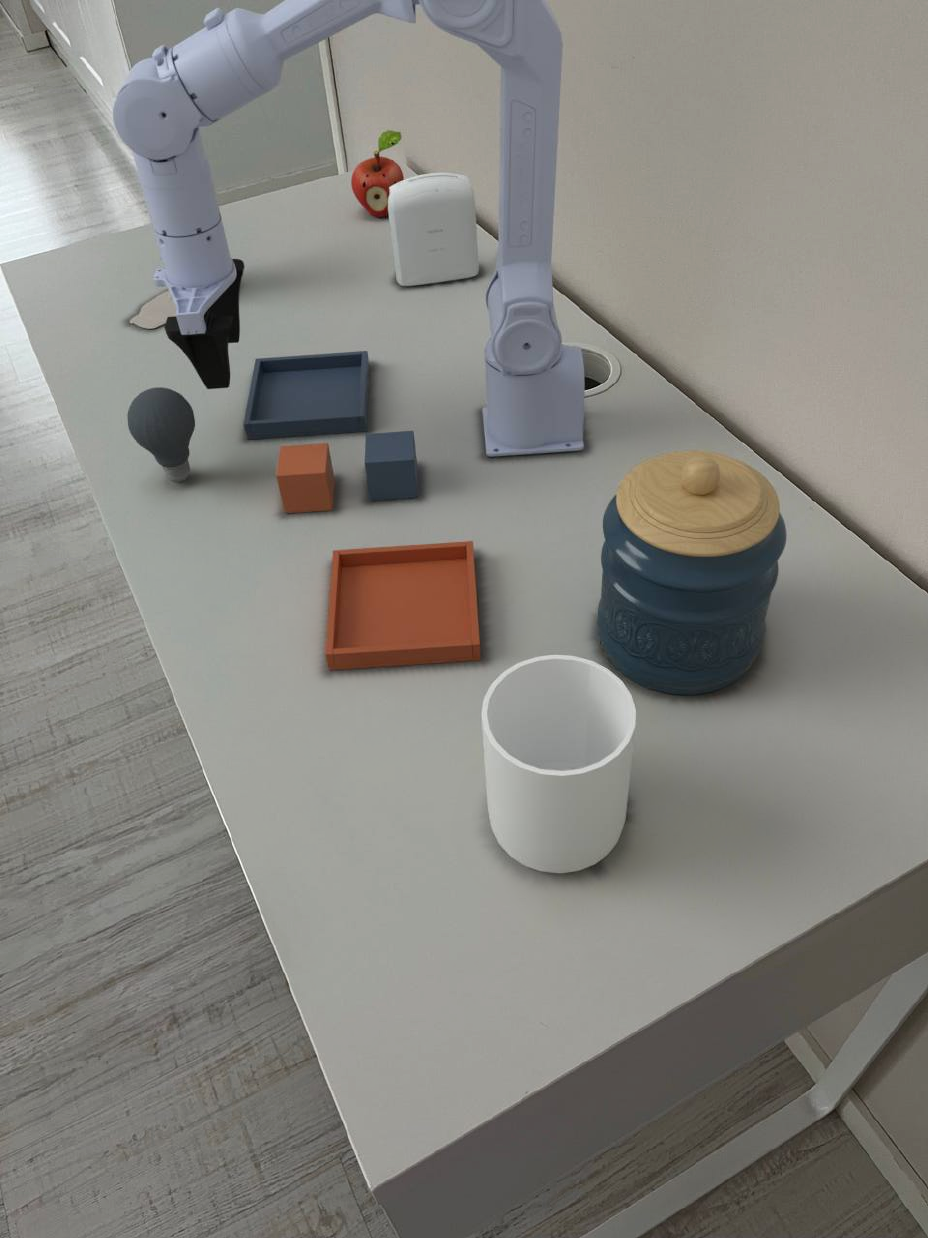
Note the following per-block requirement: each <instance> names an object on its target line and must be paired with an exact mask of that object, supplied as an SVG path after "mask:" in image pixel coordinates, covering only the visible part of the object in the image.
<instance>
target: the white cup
mask: <svg viewBox="0 0 928 1238" xmlns="http://www.w3.org/2000/svg"><path fill="white" fill-rule="evenodd" d="M480 716H481V733H482V744H483V745H482V746H483V758H484V759H483V761H484V774H485V787H486V801H487V802H486V805H487V812H488V817H489V823H490V827H491V831H492V833H493V835H494V836H495V839H496V841H497V843H498V845H499V846H500V847H501V848H502V849H503V850H504V852H506V854H508V856H509V857H511V858H512V859H514V860H515V861H517V862H518V863H519V864H521V865H523V866H524V867H528V868H530V869H533V870H536V871H539V872H542V873H543V872H544V873H551V874H565V873H573V872H579V871H581V870H584V869H586V868H589V867H591V866H594V865H596V864H597V863H599V862H600V861H601V860H603V859H604V858H605V857H607V856H608V855H609V854H610V853H611V851H612V850H613V849H614V847H616V845H617V844H618V842H619V840H620V837H621V834H622V832H623V829H624V826H625V824H626V823H625V822H626V818H627V811H628V810H627V808H628V800H629V790H630V781H631V771H632V761H633V752H634V742H635V733H636V732H635V731H636V721H637V719H636V718H637V709H636V705H635V703H634V699H633V696H632V693H631V692H630V690H629V689H628V688H627V686H626V685H625V683H624V681H623V680H622V679H620V678H619V677H618V676H617V675H615V673H613V672H612V671H611V670H610V669H608V668H606V667H604V666H603V665H601V664H599V663H597V662H595V661H593V660H591V659H588V658H587V659H586V658H582V657H579V656H575V655H566V654H549V655H541V656H534V657H531V658H528V659H526V660H522V661H520V662H517V663H515V664H514V665H513V666H511V667H509V668H507V669H506V670H504V671H503V672H502V673H501V674H500V675H499V676H498V677H497V678H496V679H495V680H494V681H493V682H492V683H491V684H490V685H489V688H488V689H487V691H486V693H485V695H484V697H483V701H482V708H481V713H480Z"/></svg>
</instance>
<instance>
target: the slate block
mask: <svg viewBox="0 0 928 1238" xmlns="http://www.w3.org/2000/svg"><path fill="white" fill-rule="evenodd" d="M415 439H416V438H415V431H414V430H401V431H387V432H386V431H385V432H373V433H372V432H371V433H365V444H364V446H365V447H364V468H365V474H366V480H367V481H366V482H367V487H368V488H367V489H368V494H369V500H370V502H372V501H373V502H374V501H389V500H403V499H404V500H405V499H417V498H419V467H418V459H417V450H416V440H415Z"/></svg>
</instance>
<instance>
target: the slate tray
mask: <svg viewBox="0 0 928 1238" xmlns="http://www.w3.org/2000/svg"><path fill="white" fill-rule="evenodd" d="M369 385H370V359H369V353H368V350H360V351H345V352H331V353H315V354H303V355H287V356H286V355H285V356H274V357H273V356H272V357H262V358H260V357H259V358H255V359H254V367H253V371H252V376H251V382H250V387H249V394H248V398H247V403H246V408H245V414H244V419H243V428H244V433H245V436H246V439H247V440H259V439H262V440H263V439H273V438H274V439H275V438H290V437H303V436H304V437H305V436H317V435H318V436H320V435H332V434H347V433H360V432H367V430H368V409H369V408H368V407H369V389H370V388H369Z"/></svg>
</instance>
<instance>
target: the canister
mask: <svg viewBox="0 0 928 1238" xmlns="http://www.w3.org/2000/svg"><path fill="white" fill-rule="evenodd" d="M780 510H781V506H780V499H779V495H778V493H777V491H776V489H775V488H774V486H773V484H772V483H771V482H770V481H769V479H767V478H766V476H764V475H763V474H762V473H761V472H760V471H759V470H757V469H755V468H754V467H752V466H751V465H749V464H747V463H745V462H744V461H741V460H739V459H736V458H733V457H730V456H727V455H725V454H721V453H717V452H713V451H708V450H707V451H705V450H682V451H673V452H668V453H664V454H659V455H656V456H653V457H650V458H648V459H646V460H644V461H642V462H640V463H639V464H636V465H635V466H634V467H632V468H631V469H630V470H629V471H628V472H627V473H626V474H625V475H624V477H623V478H622V479H621V481H620V483H619V485H618V487H617V490H616V494H615V495H613V497H612V498H611V499H610V501H609V502H608V504H607V506H606V508H605V510H604V514H603V516H602V517H603V518H602V532H603V537H604V542H603V545H602V548H601V553H600V563H601V568H602V569H601V570H602V573H601V592H600V599H599V603H598V607H597V621H596V622H597V630H598V635H599V637H600V642H601V646H602V649H603V651H604V653H605V655H606V657H607V658H608V660H609V661H610V662H611V664H612V665H613V666H614V667H615V668H616V669H617V670H618V671H619V672H620V673H621V674H622V675H624V676H625V677H627V678H628V679H630V680H631V681H634V682H635V683H637V684H639V685H641V686H643V687H645V688H648V689H651V690H654V691H658V692H663V693H667V694H673V695H700V694H705V693H711V692H714V691H717V690H720V689H723V688H725V687H727V686H729V685H731V684H733V683H734V682H736V681H738V680H739V679H740V678H742V677H743V676H744V675H745V674H746V673H747V671H748V670H749V669H750V668H751V667H752V665H753V663H754V662H755V659H756V658H757V656H758V655H759V653H760V650H761V649H762V646H763V643H764V638H765V634H766V629H767V624H766V623H767V622H766V619H767V616H768V615H767V614H768V611H769V606H770V601H771V597H772V593H773V591H774V589H775V587H776V584H777V582H778V577H779V560H780V558H781V556H782V555H783V553H784V550H785V547H786V545H787V544H786V543H787V536H788V535H787V527H786V523H785V520H784V518H783V514H782V513H781V511H780Z"/></svg>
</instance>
